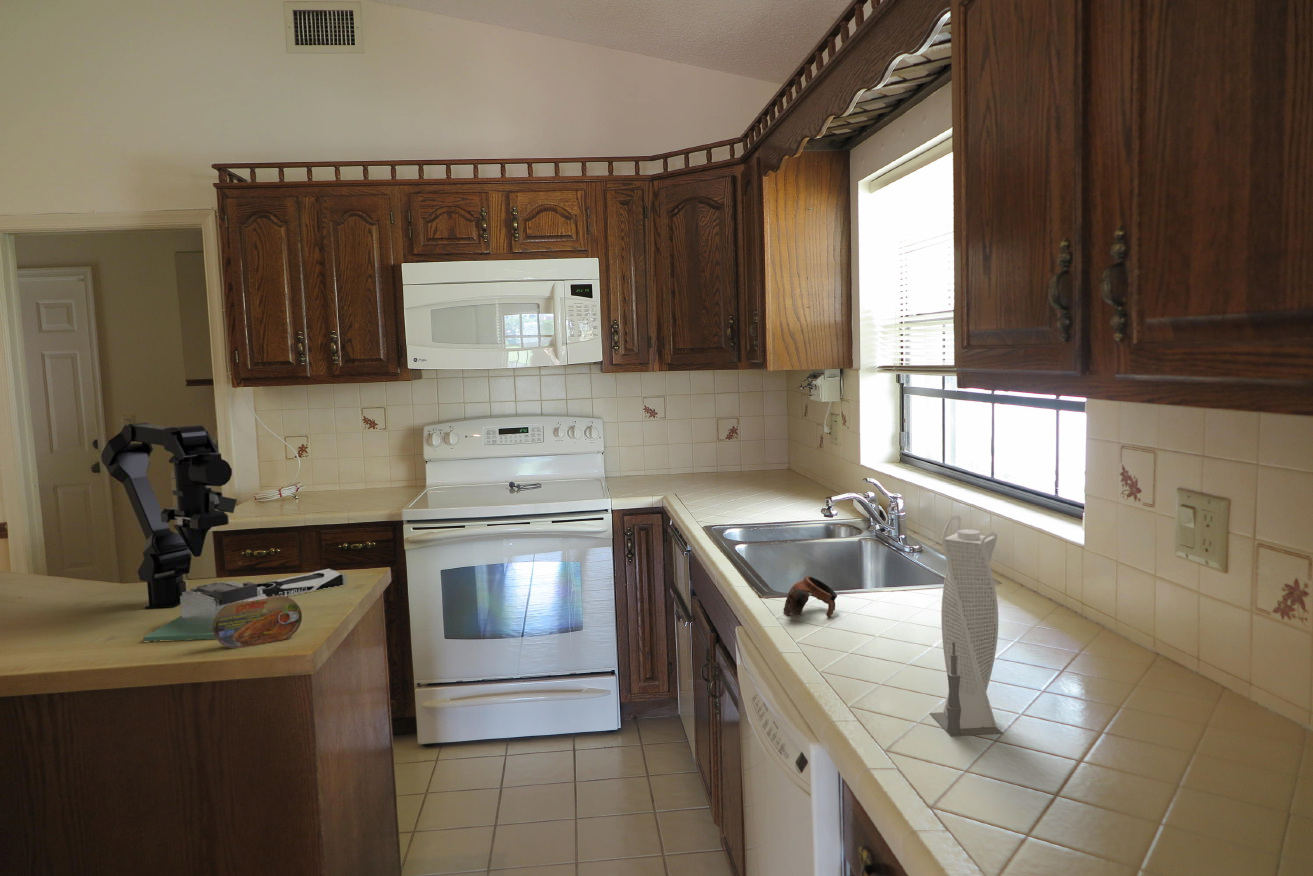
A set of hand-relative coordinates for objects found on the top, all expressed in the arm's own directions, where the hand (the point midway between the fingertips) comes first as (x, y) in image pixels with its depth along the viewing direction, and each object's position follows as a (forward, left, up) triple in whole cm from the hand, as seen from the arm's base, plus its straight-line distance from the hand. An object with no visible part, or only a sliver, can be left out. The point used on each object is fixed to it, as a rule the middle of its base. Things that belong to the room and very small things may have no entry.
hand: (197, 556), depth 176 cm
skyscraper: (+137, -72, -12) cm, 155 cm away
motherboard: (+9, -10, -12) cm, 18 cm away
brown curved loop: (+127, -22, -12) cm, 129 cm away
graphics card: (+12, +13, -13) cm, 22 cm away
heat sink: (+10, -10, -12) cm, 19 cm away
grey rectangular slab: (+9, -10, -6) cm, 15 cm away
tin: (+22, -23, -12) cm, 34 cm away
